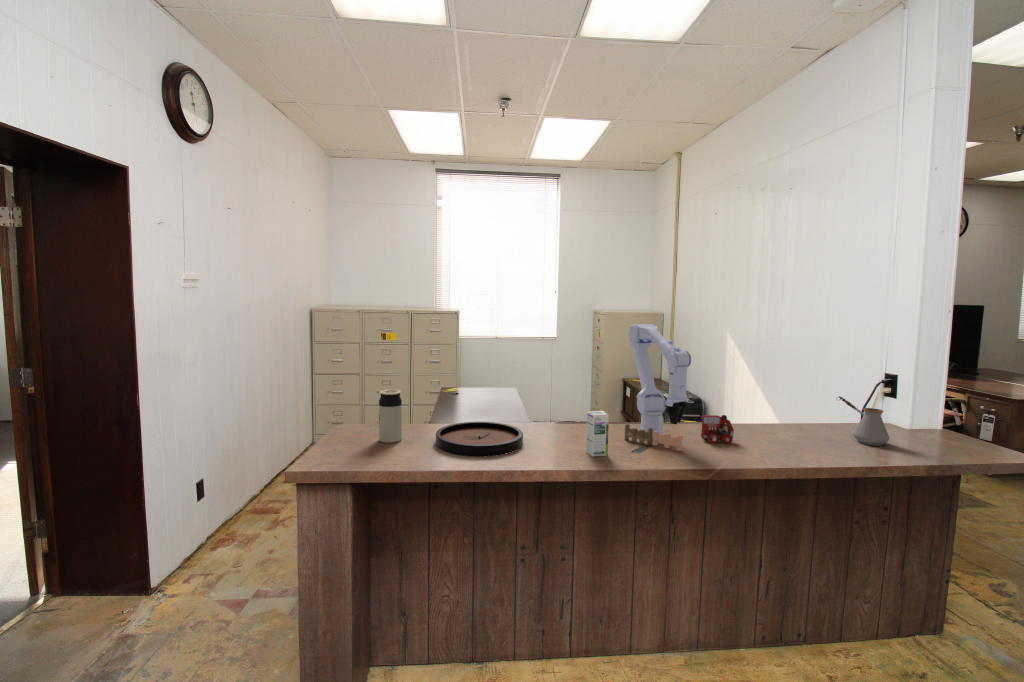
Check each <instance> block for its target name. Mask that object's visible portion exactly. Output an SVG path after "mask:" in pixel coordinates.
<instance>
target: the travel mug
mask: <svg viewBox="0 0 1024 682" xmlns="http://www.w3.org/2000/svg"><path fill="white" fill-rule="evenodd" d="M401 393H402V391H401V390H400V389H383V390H380V391H379V394H380V398H379V400H378V432H379V433H378V434H379V435H378V440H379V441H380V442H381V443H386V444H394V443H397V442H400V441H401V440H402V439H403V435H402V433H403V425H402V422H403V421H402V420H403V419H402V416H403V413H402V412H403V411H402V410H403V409H402V408H403V407H402V406H403V405H402V398H401Z"/></svg>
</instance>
